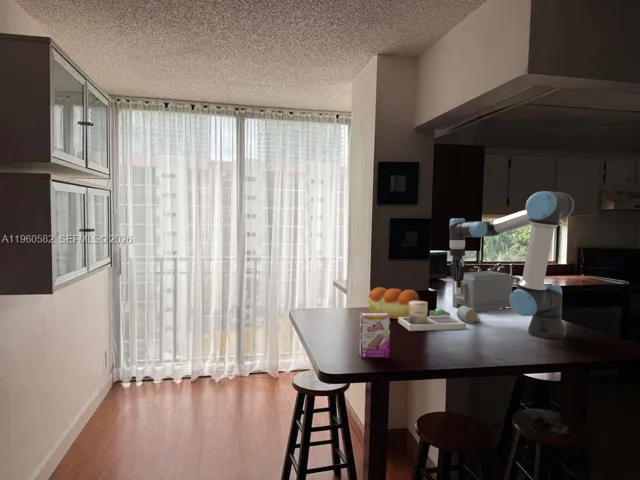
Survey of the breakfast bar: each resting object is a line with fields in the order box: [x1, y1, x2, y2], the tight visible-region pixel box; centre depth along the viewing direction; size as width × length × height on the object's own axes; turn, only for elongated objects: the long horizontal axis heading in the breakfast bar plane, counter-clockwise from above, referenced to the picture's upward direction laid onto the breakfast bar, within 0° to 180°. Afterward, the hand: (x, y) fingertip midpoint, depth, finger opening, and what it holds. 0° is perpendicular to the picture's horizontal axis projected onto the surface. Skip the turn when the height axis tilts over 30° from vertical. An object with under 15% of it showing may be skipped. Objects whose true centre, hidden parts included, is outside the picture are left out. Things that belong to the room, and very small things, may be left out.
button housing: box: [428, 309, 451, 316], centre depth 229 cm, size 8×8×4 cm
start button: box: [435, 308, 444, 313], centre depth 229 cm, size 4×4×4 cm
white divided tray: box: [397, 315, 467, 332], centre depth 214 cm, size 17×28×3 cm, turn 98°
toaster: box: [452, 270, 513, 313], centre depth 257 cm, size 19×33×20 cm, turn 114°
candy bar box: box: [359, 312, 391, 359], centre depth 166 cm, size 11×5×16 cm, turn 92°
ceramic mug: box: [456, 306, 481, 324], centre depth 223 cm, size 11×8×8 cm
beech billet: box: [409, 300, 429, 325], centre depth 213 cm, size 9×9×10 cm
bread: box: [367, 286, 420, 320], centre depth 236 cm, size 25×12×15 cm, turn 58°
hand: (457, 293), depth 224 cm, fingers closed
